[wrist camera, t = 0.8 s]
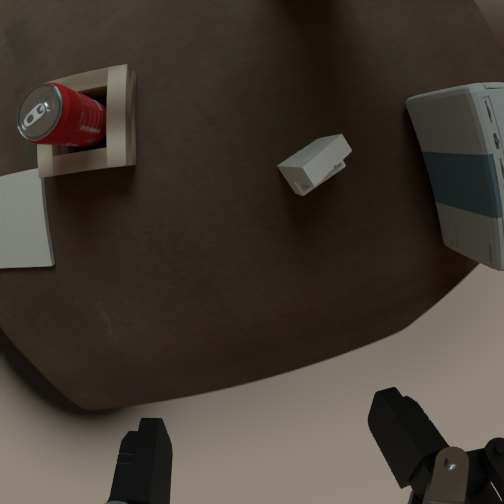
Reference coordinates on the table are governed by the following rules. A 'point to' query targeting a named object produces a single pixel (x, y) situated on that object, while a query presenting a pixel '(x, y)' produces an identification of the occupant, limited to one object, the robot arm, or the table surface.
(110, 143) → the collar
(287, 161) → the white wedge bracket
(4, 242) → the pad
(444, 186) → the stereo radio cassette player
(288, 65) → the table surface
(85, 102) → the beverage can
